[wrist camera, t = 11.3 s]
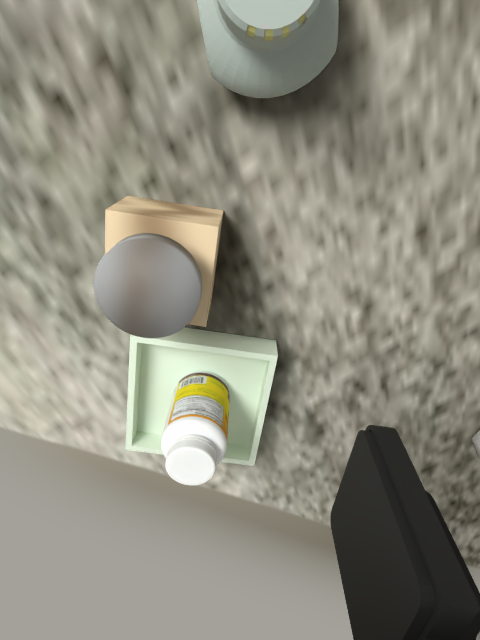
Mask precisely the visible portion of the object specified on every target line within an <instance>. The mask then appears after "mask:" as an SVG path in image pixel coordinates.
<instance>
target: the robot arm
mask: <svg viewBox="0 0 480 640" xmlns="http://www.w3.org/2000/svg"><path fill="white" fill-rule="evenodd" d="M331 529H332V534H333V539H334V543H335V549H336V554H337V559H338V564H339V569H340V574H341V579H342V584H343V589H344V594H345V599H346V604H347V609H348V614H349V619H350V624H351V629H352V633H353V639H354V640H480V593H479V591H478V589H477V587H476V585H475V583H474V581H473V579H472V576H471V574H470V572H469V570H468V568H467V566H466V564H465V562H464V560H463V558H462V556H461V554H460V552H459V550H458V548H457V546H456V544H455V541H454V539H453V537H452V535H451V533H450V531H449V529H448V527H447V525H446V523H445V521H444V519H443V517H442V515H441V513H440V511H439V509H438V507H437V504H436V502H435V501H434V499H433V497H432V496H431V495H430V494H429V493H428V492H427V491H425V489H424V487H423V485H422V483H421V481H420V479H419V477H418V475H417V472H416V470H415V468H414V466H413V464H412V462H411V460H410V458H409V456H408V454H407V451H406V449H405V447H404V445H403V443H402V441H401V439H400V437H399V435H398V432H397V431H396V429H394V428H389V427H382V426H374V425H369V426H368V427H367V428H366V430H365V431H364V430H360V431H359V432H358V435H357V437H356V440H355V443H354V446H353V449H352V452H351V455H350V458H349V461H348V464H347V467H346V470H345V472H344V475H343V478H342V481H341V484H340V487H339V490H338V493H337V496H336V499H335V502H334V505H333V508H332V511H331Z"/></svg>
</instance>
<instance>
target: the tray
mask: <svg viewBox="0 0 480 640" xmlns="http://www.w3.org/2000/svg"><path fill="white" fill-rule="evenodd" d="M277 358H278V353H277V345H276V340H270V339H263V338H256V337H249V336H242V335H235V334H228V333H220V332H213V331H206V330H199V329H192V328H185V327H184V328H183V329H182V330H180V331H178V332H177V333H175V334H172V335H170V336H166V337H162V338H142V337H138V336H134V335H130V356H129V380H128V403H127V426H126V450H132V451H140V452H148V453H155V454H163V452H162V449H161V438H162V434H163V430H164V427H165V423H166V419H167V416H168V412H169V408H170V405H171V401H172V397H173V393H174V390H175V387H176V385H177V383H178V382H179V380H180V379H181V378H183V377H184V376H185V375H187V374H189V373H192V372H196V371H206V372H210V373H213V374H215V375H217V376H219V377H220V378H221V379H222V380H223V381H224V382H225V383H226V385H227V387H228V389H229V394H230V403H229V420H228V438H227V450H226V453H225V456H224V458H223V459H222V461H221V462H226V463H234V464H242V465H249V466H254V464H255V459H256V455H257V450H258V446H259V441H260V436H261V432H262V427H263V422H264V418H265V413H266V409H267V404H268V399H269V395H270V390H271V386H272V381H273V376H274V372H275V367H276V363H277ZM163 455H164V454H163Z"/></svg>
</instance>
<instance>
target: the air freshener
mask: <svg viewBox="0 0 480 640" xmlns="http://www.w3.org/2000/svg"><path fill="white" fill-rule="evenodd" d="M197 3H198V9H199V15H200V20H201V26H202V31H203V37H204V42H205V47H206V53H207V57H208V62H209V67H210V71H211V75H212V77H213V78H214V79H215V80H216V81H217V82H218V83H220V84H221V85H223V86H224V87H226V88H228V89H229V90H231V91H233V92H236V93H238V94H241V95H244V96H249V97H254V98H273V97H278V96H283V95H286V94H288V93H291V92H294V91H296V90H298V89H299V88H301V87H303V86H304V85H306V84H308V83H309V82H310V81H311V80H312V79H314V78H315V77H316V76H317V75H318V74H319V73H320V72H321V71H322V70H323V69H324V68H325V67H326V65H327V64H328V63H329V62H330V60H331V59H332V57H333V56H334V54H335V52H336V49H337V42H338V19H339V6H338V0H197Z"/></svg>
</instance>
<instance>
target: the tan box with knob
mask: <svg viewBox="0 0 480 640" xmlns="http://www.w3.org/2000/svg"><path fill="white" fill-rule="evenodd" d="M222 218H223V211H222V210H216V209H210V208H203V207H197V206H190V205H184V204H177V203H171V202H164V201H158V200H152V199H145V198H139V197H132V196H127V197H125V198H124V199H122V200H120V201H119V202H117V203H116V204H114V205H112V206H111V207H109V208H108V209H106V219H105V255H104V256H103V258H102V259H101V261H100V262H99V264H98V266H97V269H96V272H95V276H94V292H95V296H96V299H97V302H98V304H99V306H100V308H101V310H102V312H103V313H104V315H105V316H106V317H107V318H108V319H109V320H110V321H111V322H112V323H113V324H114V325H115V326H117V327H118V328H120V329H121V330H123V331H125V332H127V333H129V334H131V335H134V336H138V337H142V338H162V337H166V336H170V335H172V334H175V333H177V332H178V331H180V330H182V329H183V328H184V327H185V326H186V325H187V324H189V325H196V326H203V327H206V324H207V320H208V315H209V310H210V305H211V300H212V294H213V287H214V279H215V271H216V264H217V256H218V248H219V241H220V233H221V225H222Z"/></svg>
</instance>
